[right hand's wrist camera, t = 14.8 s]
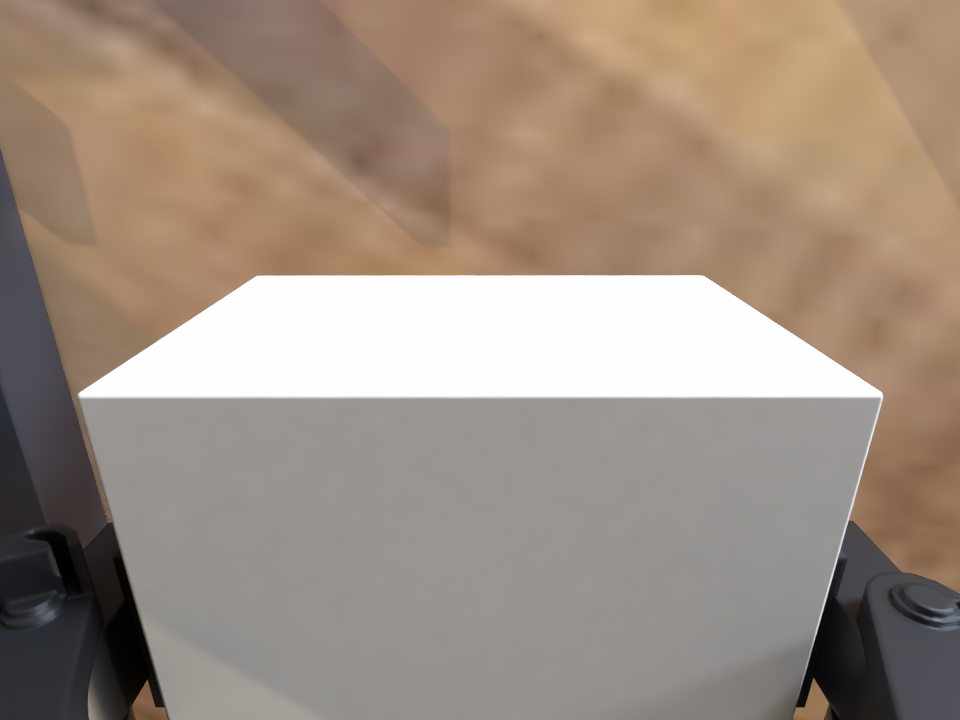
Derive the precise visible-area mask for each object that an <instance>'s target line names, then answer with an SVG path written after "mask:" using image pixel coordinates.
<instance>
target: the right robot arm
mask: <svg viewBox="0 0 960 720" xmlns="http://www.w3.org/2000/svg"><path fill="white" fill-rule="evenodd" d="M813 677H814V679H815V680H816V682H817V684H818V685H819V687H820V689H821V690H822V692H823V694H824V695H825V697H826V698H827V700H828V702H829V706H828V709H827V712H826V715H825V718H824V720H960V594H959V593H957V592H955V591H953V590H951V589H949V588H947V587H946V586H944V585H942V584H940V583H938V582H936V581H933V580H930V579H927V578H924V577H921V576H918V575H915V574H910V573H903V572H901V571H900V570H899V569H898V568H897V567H896V566H895V565H894V564H893V563H892V562H891V561H890V560H889V559H888V558H887V556H886V555H885V554H884V553H883V552H882V551H881V550H880V549H879V548H878V547H877V546H876V545H875V544H874V543H873V542H872V541H871V540H870V539H869V538H868V537H867V535H866V534H865V533H864V532H863V531H862V530H861V529H860V528H859V527H858V526H857V525H856V524H855V523H854V522H853V521H848V524H847V528H846V531H845V535H844V538H843V542H842V546H841V549H840V553H839V556H838V560H837V563H836V567H835V570H834V574H833V577H832V581H831V584H830V588H829V592H828V595H827V599H826V602H825V606H824V609H823V613H822V616H821V620H820V623H819V627H818V631H817V634H816V638H815V641H814V645H813V648H812V652H811V655H810V659H809V662H808V666H807V669H806V673H805V677H804V680H803V684H802V687H801V691H800V694H799V698H798V701H797V705H796V707H805V704H806V701H807V698H808V694H809V691H810V687H811V684H812V680H813ZM147 679H148V682H149V686H150V689H151V693H152V696H153V700H154V703H155V706H156V707H164V703H163V700H162V696H161V693H160V689H159V686H158V682H157V679H156V675H155V672H154V668H153V665H152V661H151V657H150V654H149V650H148V647H147V643H146V640H145V636H144V633H143V629H142V626H141V622H140V619H139V615H138V612H137V608H136V604H135V601H134V597H133V594H132V590H131V587H130V583H129V580H128V576H127V573H126V569H125V566H124V562H123V559H122V555H121V551H120V548H119V544H118V541H117V537H116V534H115V530H114V527H113V523H108V524H107V525H106V526H105V527H104V528H103V529H102V530H101V531H100V532H99V533H98V534H97V536H96V537H95V538H94V539H93V540H92V541H91V542H90V543H89V544H88V545H87V546H86V547H85V548H84V549H83V548H82V545H81V542H80V539H79V536H78V532H77V531H75V530H74V529H72V528H71V527H69V526H68V525H60V524H53V523H50V524H42V525H34V526H28V527H25V528H21V529H18V530H15V531H11V532H8V533H5V534H3V535H1V536H0V720H135V715H134V712H133V709H132V704H133V702H134V701H135V699H136V697H137V696H138V694H139V692H140V691H141V689H142V687H143V686H144V684H145V682H146V681H147Z"/></svg>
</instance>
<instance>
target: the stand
mask: <svg viewBox="0 0 960 720" xmlns="http://www.w3.org/2000/svg"><path fill="white" fill-rule="evenodd" d="M50 523H53V524H60V525H68V526H69V527H71V528H72V529H74V530H75V531H77V532H78V536H79V539H80V542H81V545H82V548H83V549H84V548H85V547H86V546H87V545H88V544H89V543H90V542H91V541H92V540H93V539H94V538H95V537H96V536H97V534H98V533H99V532H100V531H101V530H102V529H103V528H104V527H105V526H106V525H107V524H108V523H107V520H106V516H105V513H104V509H103V506H102V502H101V499H100V495H99V492H98V488H97V485H96V482H95V478H94V475H93V471H92V468H91V464H90V461H89V457H88V454H87V450H86V447H85V443H84V440H83V436H82V433H81V429H80V426H79V422H78V419H77V415H76V412H75V408H74V405H73V401H72V398H71V394H70V391H69V387H68V384H67V380H66V377H65V373H64V370H63V367H62V363H61V360H60V356H59V353H58V349H57V346H56V342H55V339H54V335H53V332H52V328H51V325H50V321H49V318H48V314H47V311H46V307H45V304H44V300H43V297H42V293H41V290H40V286H39V283H38V279H37V276H36V272H35V269H34V265H33V262H32V259H31V255H30V252H29V248H28V245H27V241H26V238H25V234H24V231H23V227H22V224H21V220H20V217H19V213H18V210H17V206H16V203H15V199H14V196H13V192H12V189H11V185H10V182H9V178H8V175H7V171H6V168H5V164H4V161H3V157H2V154H1V150H0V536H1V535H3V534H5V533H8V532H11V531H15V530H18V529H21V528H25V527H28V526H34V525H42V524H50Z"/></svg>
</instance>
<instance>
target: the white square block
mask: <svg viewBox="0 0 960 720" xmlns="http://www.w3.org/2000/svg"><path fill="white" fill-rule="evenodd" d="M77 400H78V403H79V407H80V410H81V414H82V417H83V421H84V424H85V428H86V431H87V435H88V438H89V442H90V445H91V449H92V453H93V456H94V460H95V463H96V467H97V470H98V474H99V477H100V481H101V484H102V488H103V491H104V495H105V498H106V502H107V506H108V509H109V513H110V516H111V520H112V523H113V527H114V530H115V534H116V537H117V541H118V544H119V548H120V551H121V555H122V559H123V562H124V566H125V569H126V573H127V576H128V580H129V583H130V587H131V590H132V594H133V597H134V601H135V604H136V608H137V612H138V615H139V619H140V622H141V626H142V629H143V633H144V636H145V640H146V643H147V647H148V650H149V654H150V657H151V661H152V665H153V668H154V672H155V675H156V679H157V682H158V686H159V689H160V693H161V696H162V700H163V703H164V707H165V710H166V714H167V717H168V720H792V719H793V716H794V712H795V708H796V705H797V701H798V698H799V694H800V691H801V687H802V684H803V680H804V677H805V673H806V669H807V666H808V662H809V659H810V655H811V652H812V648H813V645H814V641H815V638H816V634H817V631H818V627H819V623H820V620H821V616H822V613H823V609H824V606H825V602H826V599H827V595H828V592H829V588H830V584H831V581H832V577H833V574H834V570H835V567H836V563H837V560H838V556H839V553H840V549H841V546H842V542H843V538H844V535H845V531H846V528H847V524H848V521H849V517H850V514H851V510H852V507H853V503H854V499H855V496H856V492H857V489H858V485H859V482H860V478H861V475H862V471H863V468H864V464H865V461H866V457H867V453H868V450H869V446H870V443H871V439H872V436H873V432H874V429H875V425H876V422H877V418H878V414H879V411H880V407H881V404H882V400H883V394H882V393H881V392H880V391H878V390H877V389H875V388H874V387H872V386H871V385H869V384H868V383H866V382H865V381H863V380H862V379H860V378H859V377H857V376H856V375H854V374H852V373H851V372H849V371H848V370H846V369H845V368H843V367H842V366H840V365H839V364H837V363H836V362H834V361H833V360H831V359H830V358H828V357H827V356H825V355H823V354H822V353H820V352H819V351H817V350H816V349H814V348H813V347H811V346H810V345H808V344H807V343H805V342H804V341H802V340H801V339H799V338H798V337H796V336H794V335H793V334H791V333H790V332H788V331H787V330H785V329H784V328H782V327H781V326H779V325H778V324H776V323H775V322H773V321H772V320H770V319H769V318H767V317H765V316H764V315H762V314H761V313H759V312H758V311H756V310H755V309H753V308H752V307H750V306H749V305H747V304H746V303H744V302H743V301H741V300H740V299H738V298H736V297H735V296H733V295H732V294H730V293H729V292H727V291H726V290H724V289H723V288H721V287H720V286H718V285H717V284H715V283H714V282H712V281H711V280H709V279H707V278H706V277H704V276H256V277H254V278H253V279H251V280H250V281H248V282H247V283H245V284H244V285H242V286H241V287H239V288H238V289H236V290H235V291H233V292H232V293H230V294H229V295H227V296H226V297H224V298H222V299H221V300H219V301H218V302H216V303H215V304H213V305H212V306H210V307H209V308H207V309H206V310H204V311H203V312H201V313H200V314H198V315H197V316H195V317H194V318H192V319H190V320H189V321H187V322H186V323H184V324H183V325H181V326H180V327H178V328H177V329H175V330H174V331H172V332H171V333H169V334H168V335H166V336H165V337H163V338H162V339H160V340H159V341H157V342H155V343H154V344H152V345H151V346H149V347H148V348H146V349H145V350H143V351H142V352H140V353H139V354H137V355H136V356H134V357H133V358H131V359H130V360H128V361H127V362H125V363H124V364H122V365H120V366H119V367H117V368H116V369H114V370H113V371H111V372H110V373H108V374H107V375H105V376H104V377H102V378H101V379H99V380H98V381H96V382H95V383H93V384H92V385H90V386H89V387H87V388H85V389H84V390H82V391H81V392H79V393H78V396H77Z"/></svg>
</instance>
